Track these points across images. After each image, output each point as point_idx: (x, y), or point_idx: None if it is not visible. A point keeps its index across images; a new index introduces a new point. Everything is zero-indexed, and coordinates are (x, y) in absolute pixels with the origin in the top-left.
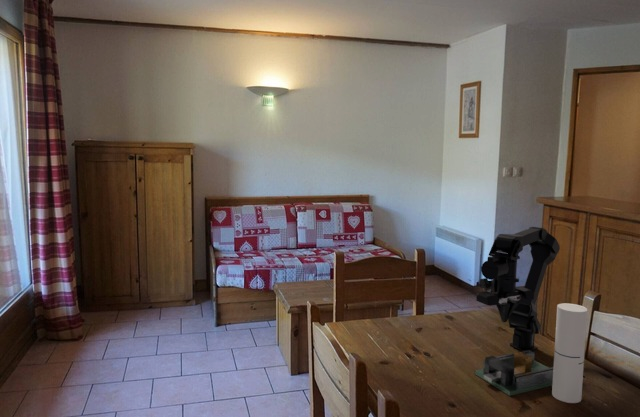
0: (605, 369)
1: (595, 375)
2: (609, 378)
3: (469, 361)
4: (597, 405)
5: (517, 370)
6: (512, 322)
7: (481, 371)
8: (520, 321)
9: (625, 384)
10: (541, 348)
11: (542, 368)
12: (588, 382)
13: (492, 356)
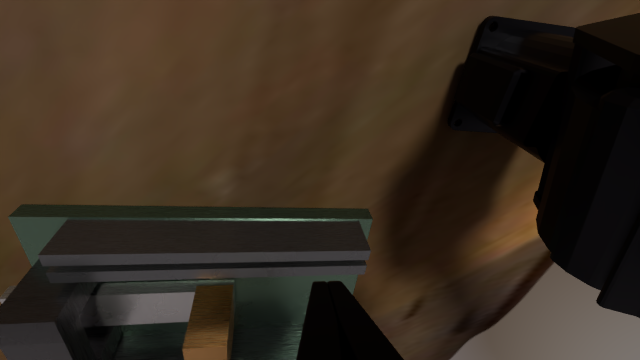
0: (503, 305)
1: (441, 319)
2: (450, 335)
3: (68, 80)
4: None
5: (189, 307)
6: (566, 119)
7: (40, 233)
8: (564, 211)
9: (444, 357)
10: None
11: None
12: None
13: (44, 326)
